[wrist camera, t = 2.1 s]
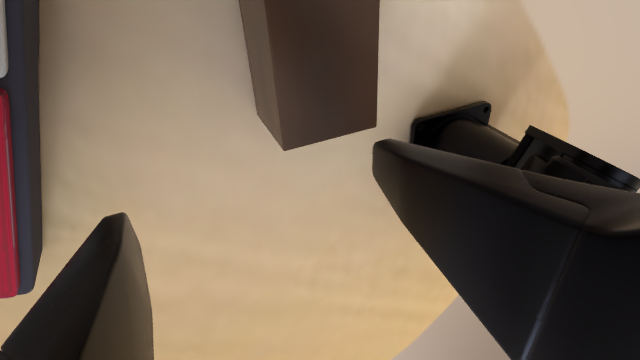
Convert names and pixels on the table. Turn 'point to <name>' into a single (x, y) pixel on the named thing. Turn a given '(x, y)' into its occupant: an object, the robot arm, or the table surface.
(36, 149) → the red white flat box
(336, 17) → the walnut block
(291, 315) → the table surface
